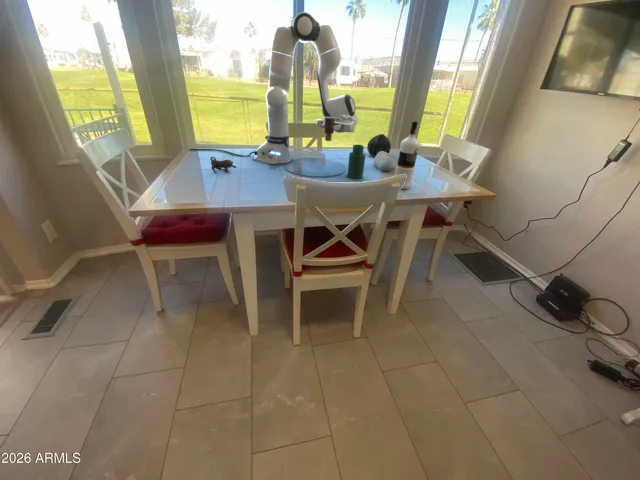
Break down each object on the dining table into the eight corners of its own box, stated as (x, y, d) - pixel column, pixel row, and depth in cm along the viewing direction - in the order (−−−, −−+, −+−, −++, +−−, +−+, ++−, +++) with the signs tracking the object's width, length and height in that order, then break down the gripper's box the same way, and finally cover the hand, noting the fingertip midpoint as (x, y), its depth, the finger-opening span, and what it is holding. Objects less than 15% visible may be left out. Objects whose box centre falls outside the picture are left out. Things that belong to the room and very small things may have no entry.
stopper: (321, 140, 139) (323, 117, 133) (324, 138, 144) (326, 116, 138) (331, 141, 138) (333, 118, 132) (334, 139, 142) (336, 117, 136)
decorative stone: (369, 159, 163) (380, 145, 158) (380, 168, 167) (392, 155, 163) (377, 170, 149) (390, 156, 145) (389, 180, 153) (402, 166, 149)
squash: (375, 142, 188) (372, 127, 175) (395, 147, 181) (393, 132, 168) (366, 159, 186) (361, 145, 173) (386, 165, 179) (383, 150, 166)
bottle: (345, 178, 141) (348, 146, 132) (348, 173, 147) (352, 143, 138) (360, 180, 139) (365, 148, 130) (363, 175, 145) (367, 145, 137)
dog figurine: (210, 173, 138) (208, 158, 134) (213, 169, 143) (211, 155, 139) (235, 173, 139) (233, 158, 135) (237, 169, 144) (235, 155, 140)
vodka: (400, 182, 140) (413, 119, 124) (414, 188, 133) (430, 122, 117) (387, 184, 135) (399, 120, 119) (401, 191, 129) (416, 123, 113)
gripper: (323, 114, 149) (310, 117, 139) (358, 119, 141) (347, 123, 131) (323, 127, 153) (310, 130, 142) (356, 132, 145) (345, 136, 134)
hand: (328, 127), depth 137 cm, fingers closed on stopper, 5 cm apart
